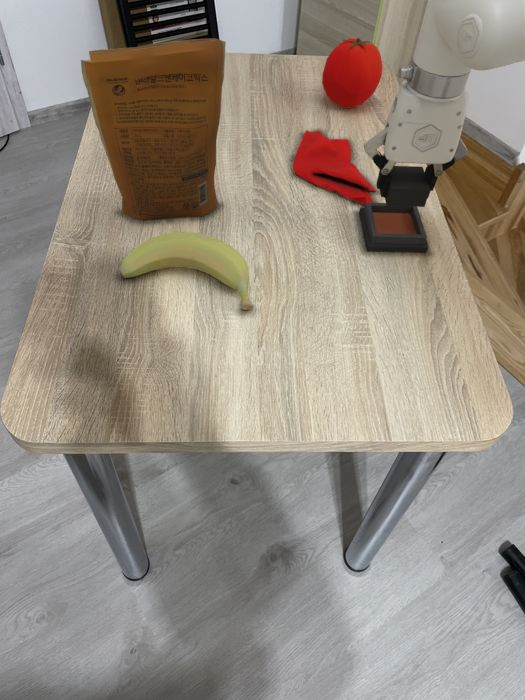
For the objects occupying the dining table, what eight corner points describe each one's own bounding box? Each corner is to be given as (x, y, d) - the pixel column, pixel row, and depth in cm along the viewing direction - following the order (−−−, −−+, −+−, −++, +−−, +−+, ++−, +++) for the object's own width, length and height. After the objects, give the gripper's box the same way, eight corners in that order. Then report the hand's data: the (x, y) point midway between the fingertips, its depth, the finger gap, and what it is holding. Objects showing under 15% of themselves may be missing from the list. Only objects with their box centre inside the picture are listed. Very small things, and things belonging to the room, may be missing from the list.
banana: (174, 201, 82) (275, 272, 77) (180, 222, 87) (275, 291, 82) (110, 261, 79) (212, 340, 73) (120, 280, 84) (216, 355, 78)
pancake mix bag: (229, 221, 91) (229, 46, 69) (114, 229, 89) (75, 50, 67) (224, 197, 95) (222, 24, 73) (114, 204, 93) (77, 27, 71)
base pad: (415, 214, 95) (419, 201, 93) (426, 252, 89) (431, 240, 86) (358, 212, 94) (361, 200, 92) (366, 251, 88) (369, 238, 86)
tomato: (315, 91, 121) (323, 26, 110) (368, 90, 122) (381, 27, 111) (323, 118, 114) (333, 52, 103) (380, 117, 115) (395, 52, 104)
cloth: (279, 133, 109) (280, 123, 107) (344, 130, 111) (346, 119, 109) (309, 214, 93) (311, 204, 91) (384, 208, 95) (387, 198, 94)
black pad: (417, 183, 88) (422, 166, 85) (424, 206, 84) (430, 189, 81) (380, 182, 87) (385, 165, 85) (386, 205, 84) (391, 188, 81)
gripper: (377, 89, 68) (351, 205, 83) (509, 94, 69) (462, 209, 83) (369, 61, 73) (346, 176, 87) (493, 67, 74) (450, 180, 88)
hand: (403, 191), depth 85 cm, fingers closed on black pad, 6 cm apart
